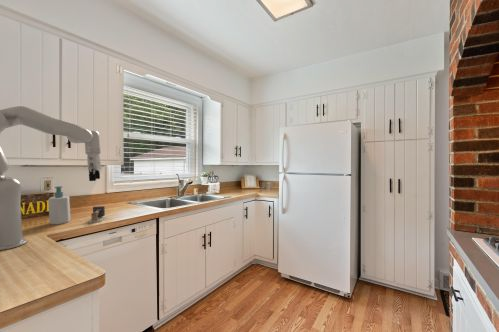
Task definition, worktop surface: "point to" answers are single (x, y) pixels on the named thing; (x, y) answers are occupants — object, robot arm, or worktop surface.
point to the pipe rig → (96, 217)
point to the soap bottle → (59, 208)
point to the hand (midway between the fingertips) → (94, 179)
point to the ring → (99, 209)
